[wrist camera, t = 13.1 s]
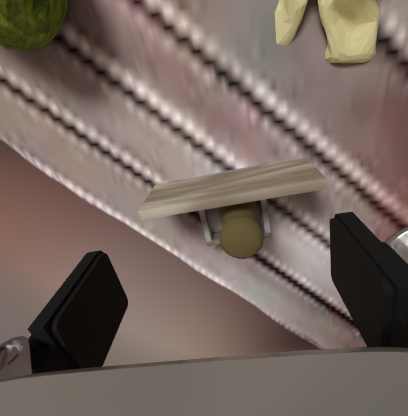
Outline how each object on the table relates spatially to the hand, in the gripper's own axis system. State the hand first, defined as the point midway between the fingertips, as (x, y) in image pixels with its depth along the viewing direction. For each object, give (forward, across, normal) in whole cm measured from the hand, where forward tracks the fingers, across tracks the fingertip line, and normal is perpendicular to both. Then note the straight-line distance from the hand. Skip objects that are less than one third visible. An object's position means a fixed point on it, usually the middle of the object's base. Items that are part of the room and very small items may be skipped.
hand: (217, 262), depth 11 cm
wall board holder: (+28, 0, +11) cm, 30 cm away
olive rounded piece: (+28, 0, +10) cm, 29 cm away
